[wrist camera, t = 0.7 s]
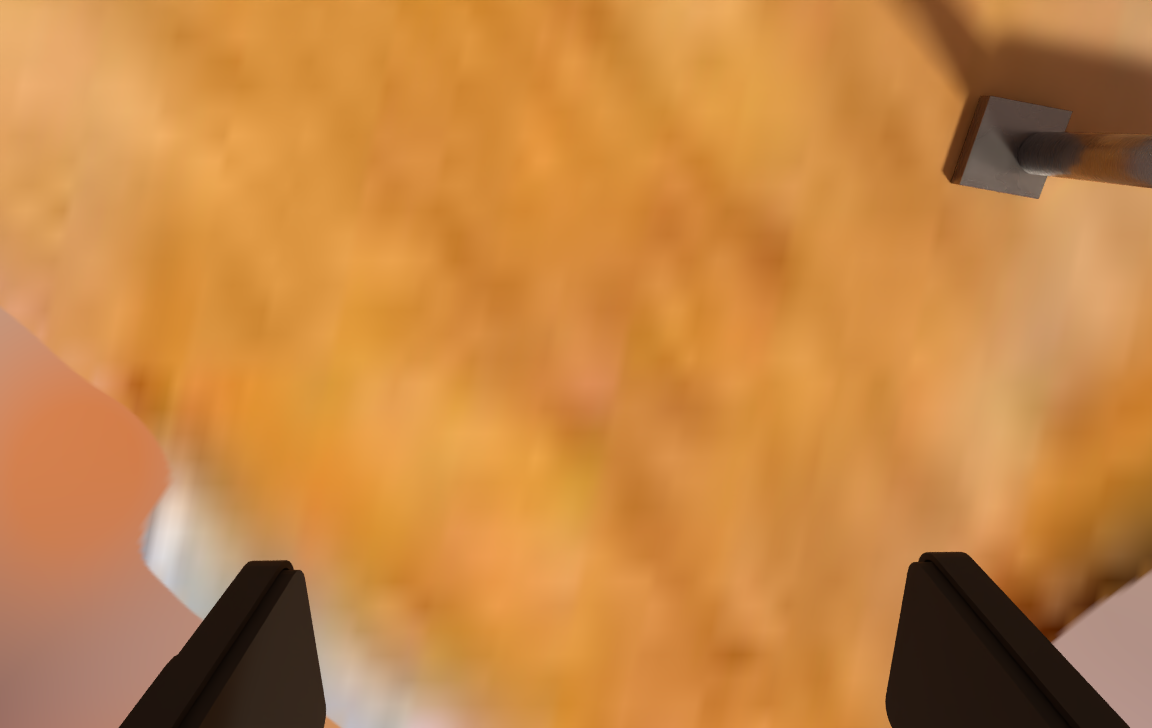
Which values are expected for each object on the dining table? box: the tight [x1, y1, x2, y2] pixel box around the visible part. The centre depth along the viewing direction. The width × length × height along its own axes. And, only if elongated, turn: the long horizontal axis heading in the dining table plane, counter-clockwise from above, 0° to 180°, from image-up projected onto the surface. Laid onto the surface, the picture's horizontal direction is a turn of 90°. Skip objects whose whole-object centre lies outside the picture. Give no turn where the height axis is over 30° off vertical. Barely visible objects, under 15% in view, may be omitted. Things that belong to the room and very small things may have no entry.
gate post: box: [951, 96, 1152, 199], centre depth 34 cm, size 5×5×15 cm
